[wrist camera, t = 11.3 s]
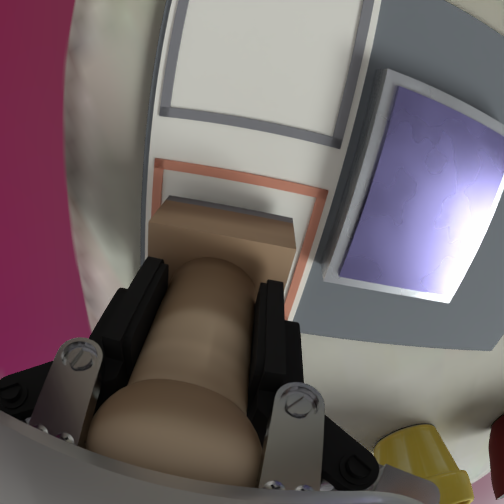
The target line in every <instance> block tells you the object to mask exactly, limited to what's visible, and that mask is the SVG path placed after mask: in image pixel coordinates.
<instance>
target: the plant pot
mask: <svg viewBox="0 0 504 504" xmlns="http://www.w3.org/2000/svg"><path fill="white" fill-rule="evenodd" d="M374 457H375V458H376V460H377V462H378V464H380V465H383V466H384V465H385V464H388V465H390V466H393V467H395V468H398V469H400V470H403V471H405V472H408V473H410V474H413V475H415V476H418V477H421V478H423V479H426V480H429V481H431V482H433V483H434V484H435V485H436V486H437V487H438V489H439V492H440V502H439V504H470V503H471V502H472V501H473V499H474V495H473V490H472V486H471V483H470V479H469V477H468V474H467V472H466V471H464V470H459V468H458V466H457V465H456V463H455V461H454V459H453V458H452V456H451V454H450V452H449V451H448V449H447V447H446V445H445V444H444V442H443V440H442V439H441V437H440V435H439V433H438V432H437V430H436V428H435V427H434V426H432V425H429V424H420V425H414V426H410V427H407V428H403V429H401V430H398V431H396V432H394V433H392V434H390V435H388V436H386V437H385V438H383V439H382V440H380V441H379V442H378V443H377V444H376V446H375V449H374Z"/></svg>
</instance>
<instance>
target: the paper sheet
mask: <svg viewBox="0 0 504 504" xmlns="http://www.w3.org/2000/svg"><path fill="white" fill-rule="evenodd" d="M380 5H381V0H172V3H171V7H170V12H169V17H168V22H167V27H166V32H165V37H164V43H163V48H162V54H161V60H160V66H159V73H158V80H157V87H156V94H155V102H154V110H153V119H152V129H151V139H150V150H149V163H148V177H147V195H146V221H145V260H146V258H147V257H148V222H149V220H150V219H151V218H152V216H153V215H154V214H155V213H156V211H157V210H158V209H159V208H160V206H161V205H162V204H163V203H164V201H165V200H166V199H167V198H168V196H169V195H171V196H177V197H183V198H189V199H195V200H201V201H206V202H212V203H218V204H223V205H229V206H234V207H239V208H245V209H250V210H255V211H260V212H265V213H270V214H276V215H281V216H285V217H290V218H293V226H294V233H295V241H296V253H295V256H294V260H293V263H292V266H291V270H290V273H289V276H288V280H287V283H286V286H285V290H284V311H285V320H288V321H293V319H294V316H295V313H296V310H297V307H298V305H299V302H300V299H301V296H302V293H303V290H304V287H305V284H306V282H307V279H308V276H309V273H310V270H311V267H312V264H313V261H314V258H315V255H316V252H317V248H318V245H319V242H320V239H321V236H322V233H323V230H324V227H325V223H326V220H327V217H328V214H329V210H330V207H331V204H332V200H333V197H334V194H335V190H336V187H337V184H338V180H339V177H340V173H341V170H342V166H343V163H344V159H345V155H346V152H347V148H348V144H349V141H350V137H351V133H352V129H353V126H354V122H355V118H356V114H357V110H358V106H359V102H360V98H361V94H362V90H363V85H364V81H365V77H366V73H367V68H368V64H369V59H370V55H371V50H372V46H373V41H374V36H375V31H376V26H377V21H378V16H379V11H380Z"/></svg>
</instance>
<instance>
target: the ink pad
mask: <svg viewBox="0 0 504 504" xmlns="http://www.w3.org/2000/svg"><path fill="white" fill-rule="evenodd" d="M503 189H504V125H503V124H502V123H500V122H499V121H497V120H495V119H493V118H492V117H490V116H488V115H487V114H485V113H483V112H481V111H480V110H478V109H476V108H474V107H472V106H470V105H469V104H467V103H465V102H463V101H461V100H459V99H457V98H455V97H453V96H451V95H449V94H447V93H445V92H443V91H441V90H438V89H436V88H434V87H432V86H430V85H427V84H425V83H423V82H421V81H418V80H416V79H413V78H411V77H409V76H406V75H404V74H401V73H399V72H396V71H393V70H391V69H376V72H375V76H374V80H373V85H372V89H371V93H370V97H369V101H368V105H367V109H366V113H365V117H364V121H363V124H362V128H361V132H360V136H359V139H358V143H357V147H356V150H355V154H354V157H353V161H352V164H351V168H350V171H349V175H348V178H347V181H346V185H345V188H344V191H343V195H342V198H341V201H340V204H339V208H338V211H337V214H336V217H335V220H334V223H333V226H332V229H331V233H330V236H329V239H328V242H327V245H326V248H325V251H324V254H323V256H322V259H321V262H320V266H321V271H322V276H323V281H324V282H330V283H335V284H341V285H346V286H352V287H358V288H363V289H369V290H375V291H381V292H386V293H392V294H398V295H404V296H410V297H416V298H422V299H428V300H434V301H440V302H446V303H449V302H450V300H451V299H452V297H453V295H454V293H455V292H456V290H457V288H458V286H459V285H460V283H461V281H462V279H463V277H464V275H465V273H466V272H467V270H468V268H469V266H470V264H471V262H472V260H473V258H474V256H475V254H476V252H477V250H478V248H479V246H480V243H481V241H482V239H483V237H484V235H485V233H486V230H487V228H488V226H489V224H490V221H491V219H492V217H493V214H494V212H495V209H496V207H497V204H498V202H499V199H500V197H501V194H502V192H503Z"/></svg>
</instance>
